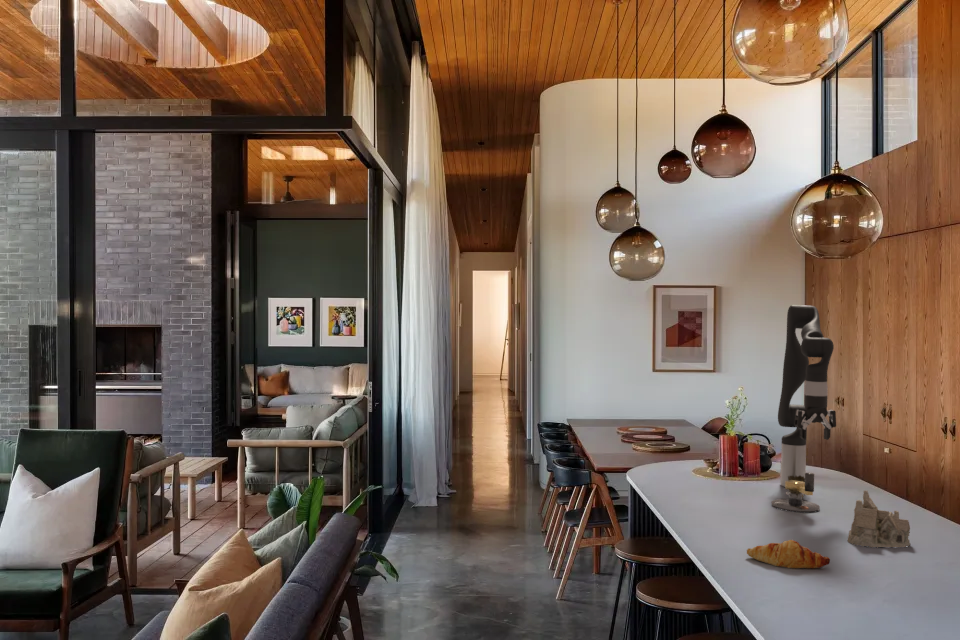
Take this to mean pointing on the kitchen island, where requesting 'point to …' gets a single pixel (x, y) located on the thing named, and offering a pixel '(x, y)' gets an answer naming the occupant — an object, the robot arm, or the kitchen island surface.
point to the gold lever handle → (802, 485)
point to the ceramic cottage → (877, 526)
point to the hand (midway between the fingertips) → (814, 439)
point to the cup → (796, 479)
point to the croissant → (788, 555)
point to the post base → (795, 503)
